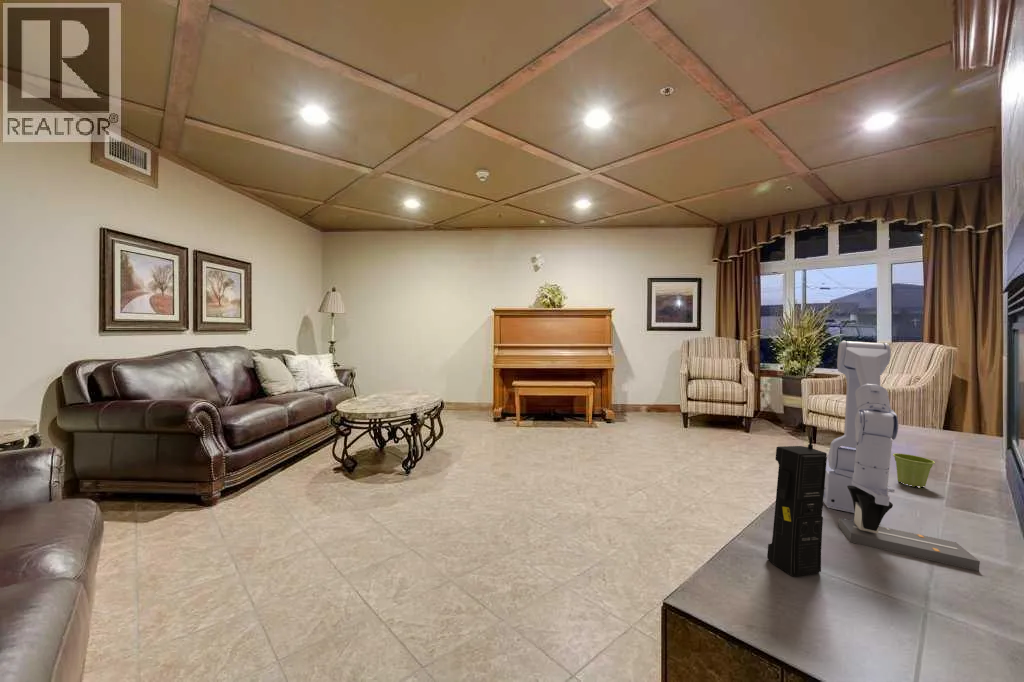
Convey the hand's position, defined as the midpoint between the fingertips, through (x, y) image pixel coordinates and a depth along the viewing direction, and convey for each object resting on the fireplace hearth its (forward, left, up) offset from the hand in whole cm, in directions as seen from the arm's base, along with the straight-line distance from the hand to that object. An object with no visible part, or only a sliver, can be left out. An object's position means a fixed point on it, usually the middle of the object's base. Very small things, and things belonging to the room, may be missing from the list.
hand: (865, 524), depth 88 cm
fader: (0, 0, -1) cm, 1 cm away
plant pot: (+27, +54, -3) cm, 61 cm away
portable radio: (-18, -23, -3) cm, 29 cm away
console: (+6, 0, -3) cm, 7 cm away
